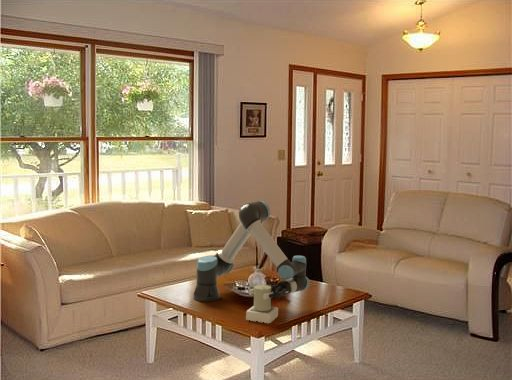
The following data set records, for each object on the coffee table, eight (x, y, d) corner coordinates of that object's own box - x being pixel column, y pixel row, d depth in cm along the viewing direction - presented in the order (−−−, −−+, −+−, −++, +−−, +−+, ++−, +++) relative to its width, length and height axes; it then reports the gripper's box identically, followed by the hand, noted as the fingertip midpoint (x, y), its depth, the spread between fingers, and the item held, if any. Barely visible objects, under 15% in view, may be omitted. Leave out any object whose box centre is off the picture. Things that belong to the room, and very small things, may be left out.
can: (256, 311, 322) (256, 289, 320) (251, 306, 331) (251, 284, 329) (273, 310, 324) (273, 287, 323) (268, 305, 333) (268, 283, 332)
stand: (246, 319, 324) (246, 310, 324) (255, 312, 336) (255, 303, 336) (269, 323, 319) (269, 314, 319) (277, 316, 332) (278, 307, 331)
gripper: (301, 298, 331) (271, 306, 316) (271, 289, 347) (242, 296, 332) (302, 284, 330) (272, 292, 315) (272, 276, 346) (242, 283, 331)
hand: (256, 294), depth 323 cm, fingers open, 10 cm apart
